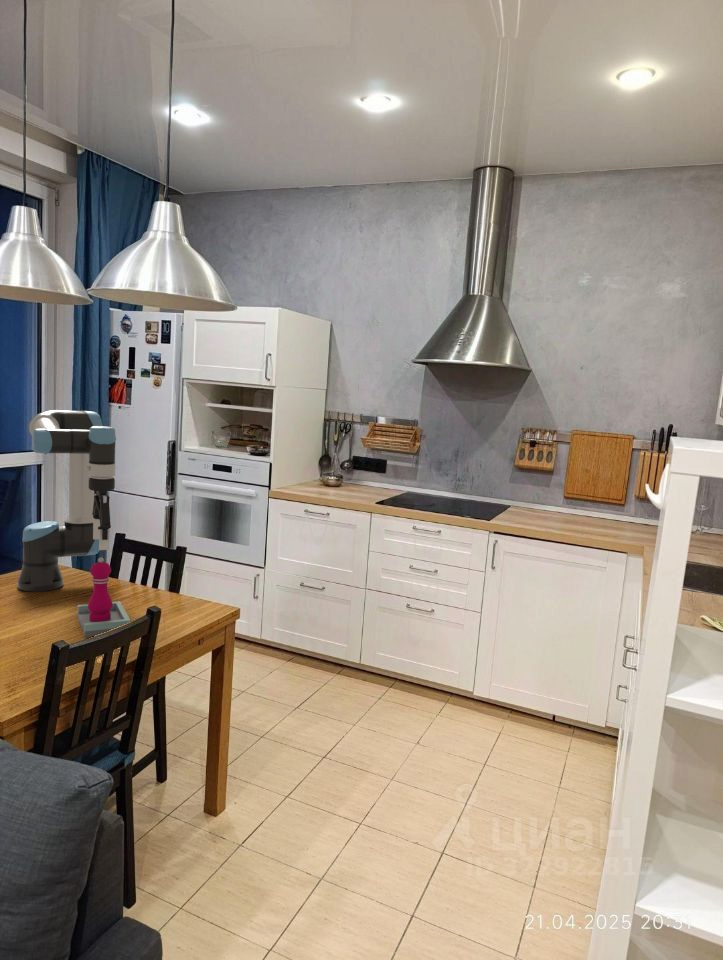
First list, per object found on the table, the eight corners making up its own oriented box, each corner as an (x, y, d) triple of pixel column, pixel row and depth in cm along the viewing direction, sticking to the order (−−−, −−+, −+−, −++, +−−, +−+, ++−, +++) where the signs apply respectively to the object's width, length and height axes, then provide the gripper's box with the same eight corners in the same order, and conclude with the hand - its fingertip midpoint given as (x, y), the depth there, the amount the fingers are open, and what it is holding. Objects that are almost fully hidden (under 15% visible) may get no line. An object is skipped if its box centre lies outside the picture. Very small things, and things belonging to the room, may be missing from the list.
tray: (77, 617, 214) (77, 605, 213) (119, 612, 220) (119, 601, 220) (84, 637, 197) (85, 625, 197) (130, 632, 204) (130, 620, 203)
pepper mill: (87, 623, 204) (88, 560, 201) (87, 615, 210) (88, 554, 207) (112, 621, 206) (113, 559, 204) (111, 614, 213) (112, 554, 210)
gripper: (83, 470, 211) (82, 535, 214) (94, 483, 189) (93, 555, 193) (108, 470, 215) (107, 534, 218) (121, 483, 193) (120, 553, 196)
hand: (100, 544), depth 205 cm, fingers open, 13 cm apart
